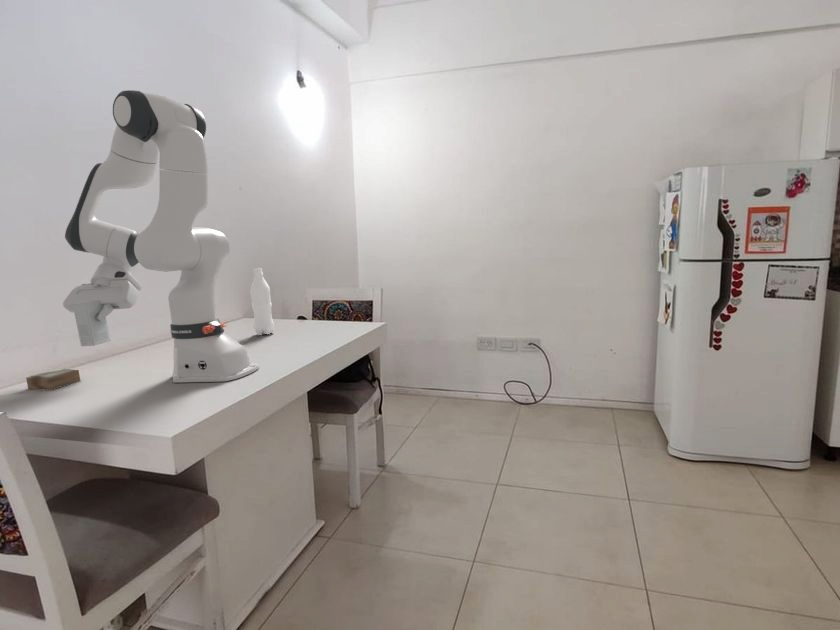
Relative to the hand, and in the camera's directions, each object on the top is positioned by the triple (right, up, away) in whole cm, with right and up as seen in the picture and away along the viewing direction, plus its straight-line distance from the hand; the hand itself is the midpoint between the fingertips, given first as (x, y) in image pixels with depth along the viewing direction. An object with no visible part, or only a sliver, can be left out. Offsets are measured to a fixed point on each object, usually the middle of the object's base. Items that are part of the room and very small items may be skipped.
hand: (89, 320), depth 133 cm
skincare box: (+1, -7, +2) cm, 7 cm away
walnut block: (-6, -17, -5) cm, 18 cm away
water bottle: (+32, -6, +50) cm, 60 cm away
